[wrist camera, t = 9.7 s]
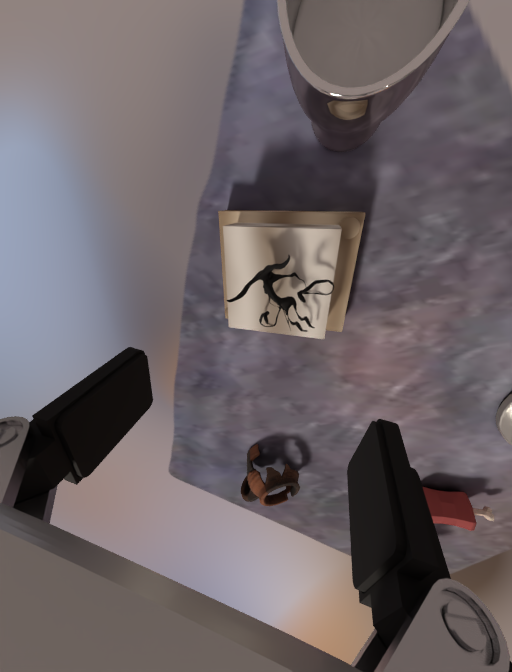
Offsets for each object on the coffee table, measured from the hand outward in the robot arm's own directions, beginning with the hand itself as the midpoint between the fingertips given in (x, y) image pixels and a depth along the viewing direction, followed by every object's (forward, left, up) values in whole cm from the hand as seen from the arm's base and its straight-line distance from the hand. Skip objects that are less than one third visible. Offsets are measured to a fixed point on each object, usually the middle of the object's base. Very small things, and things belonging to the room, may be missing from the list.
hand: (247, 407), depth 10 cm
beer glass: (-1, -14, -22) cm, 26 cm away
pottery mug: (-2, +37, -22) cm, 43 cm away
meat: (-29, +30, -22) cm, 47 cm away
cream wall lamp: (+2, 0, -22) cm, 22 cm away
